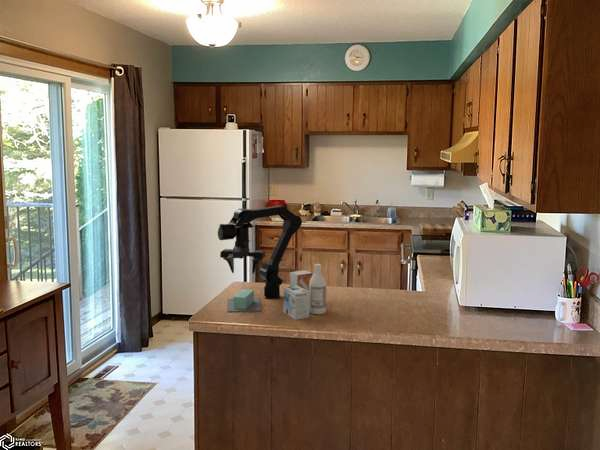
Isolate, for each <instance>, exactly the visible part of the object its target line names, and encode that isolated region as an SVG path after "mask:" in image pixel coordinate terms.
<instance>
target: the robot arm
mask: <svg viewBox="0 0 600 450" xmlns="http://www.w3.org/2000/svg"><path fill="white" fill-rule="evenodd" d="M274 216H279V218H280V219H281V220H282V221H283V223H282V231H281V234H280V237H279V238H278V240H277V243H276V245H275V247H274V249H273V251H272V254H271V256H270V258H269V260H268V261H267V262H265V261H263V262H262V263H261V267H260V268H259V270H258V271H259V275H260V278H262V280H263V282H264V286H263V290H264V291H263V296H264V297H265V298H264V299H280V298H281V295H280V292H281V291H280V290H281V289H280V287H281V286H282V283H283V280H282V278H280V276H279V272H280V264H281V261H282V258H283V257H284V254H285V252H286V250H287V248H288V245H289V244H290V241H291V239H292V237H293V235H294V234H296V233H297V232H298V231H299V229H300V227H301V226H302V224H303V220H302V218H301V217H300V216H299V215H297V214H294V212H292V211H290V210H289V209H287V207H285V206H284V205H280V204H277V205H273V206H267V207H266V206H265V207H261V208H255V209H253V208H252V209H251V208H237V209H235V210H234V211H233V216H232V217H231V219H230V220H229V222H228V223H220V224H219V227H218V230H217V238H218V240H220V241H227V240H228V241H229V240H234V239H235V241H234V247H232V249H229V248H224V249H223V250H221V251H220V255H219V256H220V258H221V259H222V258H223V260H224V261H226V262H227V265H228V266H229V269H230V271H231V274H234V272H235V260H234V259H240V260H241V259H244V257H250V258H251V257H252V273H251V274H253V275H254V274H255V272H256V269H257V265H258V264H259V262H260V261H261V260H263V259H264V258H265V257H266V251H264V250H259V249H256V250H255V251H251V249H250V242H251V241H250V228H254V225H253V223H251V222H253V221H255V220H257V219H262V218H268V217H274Z"/></svg>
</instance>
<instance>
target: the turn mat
mask: <svg viewBox="0 0 600 450" xmlns="http://www.w3.org/2000/svg"><path fill="white" fill-rule="evenodd" d="M260 299H261V298H260V297H254V302H253V303H251V304H250V305H249V306H248V307H247V308H246V309H234V298H227V303H226V305H227V306H226V313H246V312H247V313H248V312H251V313H252V312H262V308H261V300H260Z"/></svg>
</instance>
